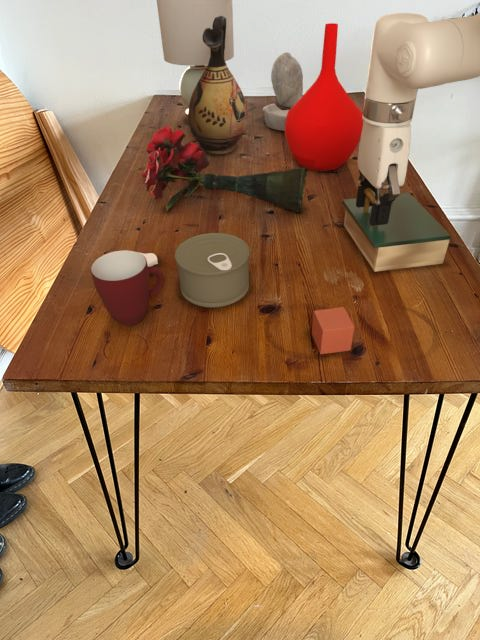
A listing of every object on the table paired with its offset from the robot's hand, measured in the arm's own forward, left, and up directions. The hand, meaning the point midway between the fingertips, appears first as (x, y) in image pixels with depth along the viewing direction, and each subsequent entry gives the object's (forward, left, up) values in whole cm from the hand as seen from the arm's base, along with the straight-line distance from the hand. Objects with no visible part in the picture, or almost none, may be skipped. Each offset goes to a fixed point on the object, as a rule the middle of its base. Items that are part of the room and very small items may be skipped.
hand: (371, 214), depth 85 cm
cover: (-4, 0, -2) cm, 5 cm away
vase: (-3, -39, -7) cm, 40 cm away
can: (+29, +7, -7) cm, 31 cm away
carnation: (+23, -24, -7) cm, 34 cm away
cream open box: (-5, 0, -7) cm, 8 cm away
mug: (+42, +12, -7) cm, 44 cm away
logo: (+42, -1, -7) cm, 43 cm away
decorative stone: (-6, -88, -7) cm, 88 cm away
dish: (-2, -68, -7) cm, 68 cm away
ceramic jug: (+20, -56, -7) cm, 60 cm away
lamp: (+22, -80, -7) cm, 83 cm away
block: (+14, +24, -7) cm, 29 cm away
